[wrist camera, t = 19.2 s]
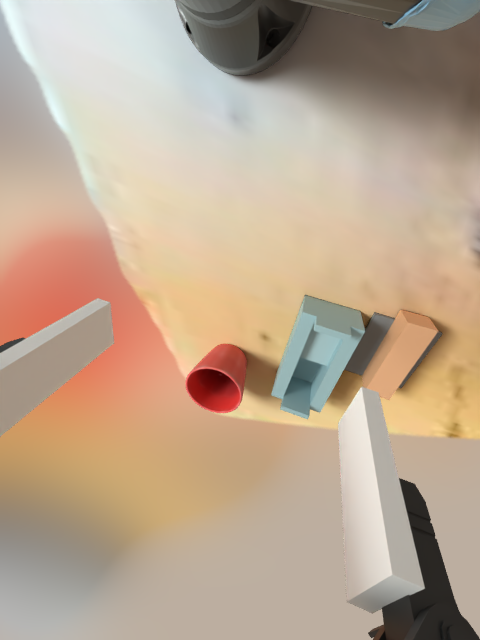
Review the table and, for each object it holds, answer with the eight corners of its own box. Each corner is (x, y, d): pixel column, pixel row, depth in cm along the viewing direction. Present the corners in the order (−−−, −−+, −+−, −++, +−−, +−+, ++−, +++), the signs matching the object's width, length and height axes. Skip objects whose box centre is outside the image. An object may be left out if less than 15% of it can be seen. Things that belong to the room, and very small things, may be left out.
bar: (400, 309, 39) (407, 322, 36) (428, 317, 38) (438, 331, 35) (361, 376, 47) (364, 391, 43) (384, 383, 46) (389, 399, 43)
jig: (305, 294, 43) (300, 320, 36) (360, 311, 42) (367, 340, 34) (276, 373, 52) (268, 405, 45) (320, 388, 51) (319, 423, 44)
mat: (374, 312, 41) (375, 314, 40) (441, 331, 40) (442, 333, 39) (343, 367, 47) (344, 369, 47) (400, 386, 46) (401, 388, 46)
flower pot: (265, 359, 52) (254, 394, 44) (235, 386, 58) (220, 422, 49) (223, 326, 51) (203, 356, 42) (196, 357, 57) (175, 389, 48)
